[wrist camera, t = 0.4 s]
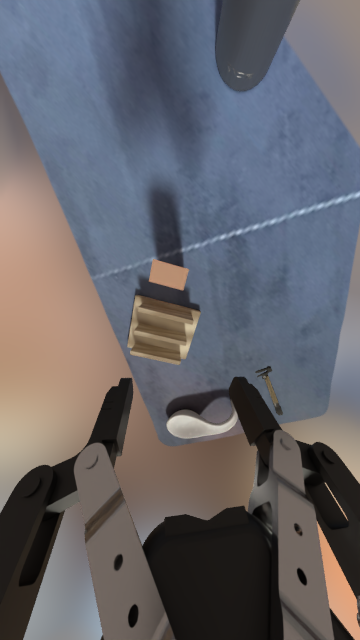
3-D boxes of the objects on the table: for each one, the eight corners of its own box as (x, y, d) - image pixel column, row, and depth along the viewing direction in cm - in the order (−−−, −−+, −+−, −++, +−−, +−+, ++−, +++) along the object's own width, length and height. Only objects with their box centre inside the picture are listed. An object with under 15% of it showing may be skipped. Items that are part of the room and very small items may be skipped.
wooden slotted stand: (137, 294, 34) (129, 299, 29) (199, 310, 36) (204, 318, 30) (129, 343, 39) (120, 356, 33) (185, 356, 40) (186, 370, 35)
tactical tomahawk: (247, 371, 44) (248, 373, 43) (269, 365, 43) (271, 367, 42) (263, 415, 50) (264, 418, 49) (283, 411, 49) (285, 414, 48)
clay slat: (163, 263, 32) (153, 259, 19) (184, 269, 33) (188, 269, 19) (160, 276, 33) (148, 281, 20) (180, 282, 34) (183, 290, 20)
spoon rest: (175, 430, 51) (174, 455, 45) (161, 409, 48) (159, 432, 41) (238, 412, 49) (248, 435, 42) (229, 387, 45) (238, 408, 38)
